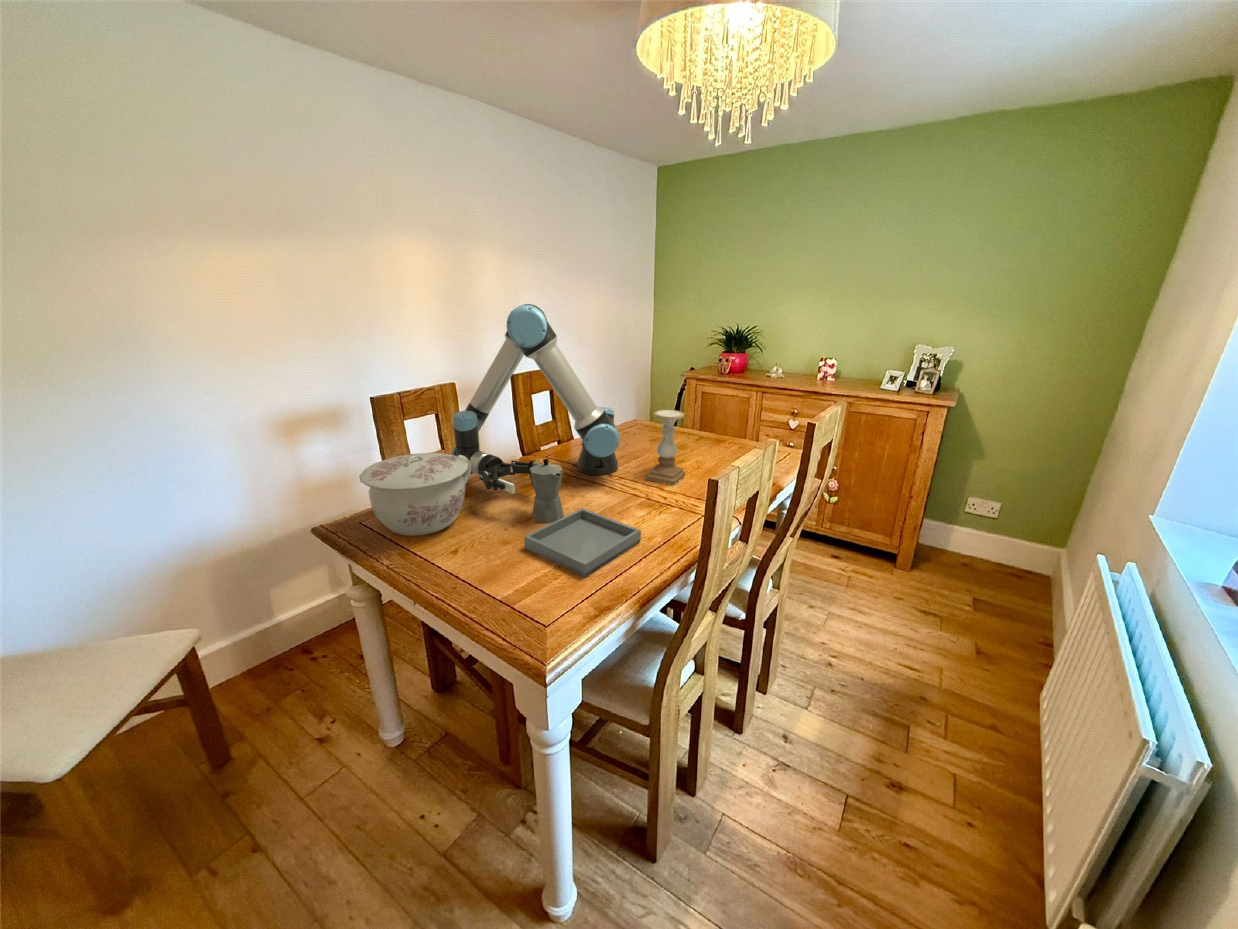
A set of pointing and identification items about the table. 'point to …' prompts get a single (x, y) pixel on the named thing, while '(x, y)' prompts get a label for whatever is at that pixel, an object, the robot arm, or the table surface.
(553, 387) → the robot arm
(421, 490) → the chamber pot
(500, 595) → the table surface
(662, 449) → the candle holder
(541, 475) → the coffeepot
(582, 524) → the charcoal dish
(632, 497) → the table surface
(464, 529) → the table surface
